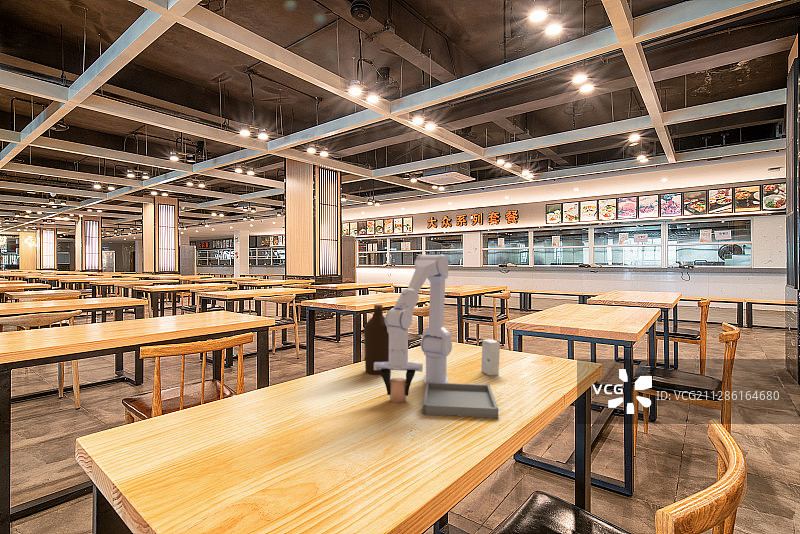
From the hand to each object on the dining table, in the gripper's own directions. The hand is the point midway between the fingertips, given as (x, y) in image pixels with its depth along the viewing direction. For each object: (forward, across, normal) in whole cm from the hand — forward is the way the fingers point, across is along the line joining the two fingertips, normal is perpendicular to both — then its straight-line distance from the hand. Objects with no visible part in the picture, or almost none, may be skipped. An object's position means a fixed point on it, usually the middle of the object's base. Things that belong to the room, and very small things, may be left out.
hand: (398, 394), depth 115 cm
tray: (+2, +18, 0) cm, 18 cm away
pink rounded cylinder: (+2, 0, 0) cm, 2 cm away
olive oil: (+2, -11, +29) cm, 31 cm away
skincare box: (+2, +31, +32) cm, 45 cm away
